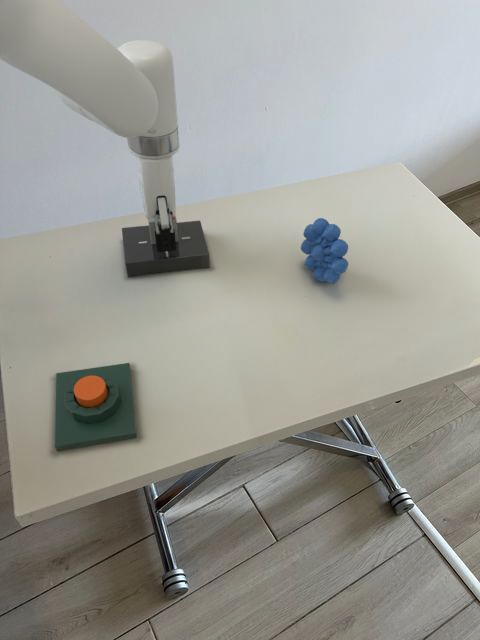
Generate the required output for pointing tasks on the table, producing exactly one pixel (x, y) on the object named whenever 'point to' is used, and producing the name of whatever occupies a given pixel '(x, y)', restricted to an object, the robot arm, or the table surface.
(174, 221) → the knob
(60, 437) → the control block
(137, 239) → the lever switch base
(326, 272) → the grapes
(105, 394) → the button
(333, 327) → the table surface
